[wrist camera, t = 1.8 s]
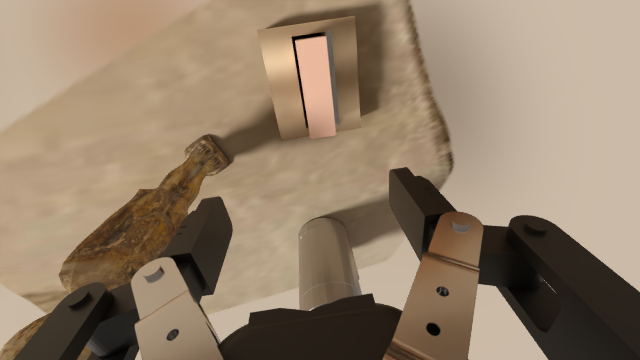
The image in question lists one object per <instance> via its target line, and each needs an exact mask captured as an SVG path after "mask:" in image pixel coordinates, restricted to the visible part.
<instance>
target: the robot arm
mask: <svg viewBox="0 0 640 360" xmlns="http://www.w3.org/2000/svg"><path fill="white" fill-rule="evenodd" d="M389 201H390V206H391V209H392V211H393V213H394V214H395V216H396V218H397V220H398V222H399V224H400V225H401V227H402V229H403V231H404V233H405V235H406V236H407V238H408V240H409V242H410V244H411V246H412V247H413V249H414V251H415V253H416V255H417V257H418V258H419V260H420V265H419V268H418V271H417V273H416V276H415V279H414V282H413V284H412V287H411V290H410V293H409V295H408V298H407V301H406V304H405V307H404V309H403V311H401V310H399V309H397V308H395V307H392V306H389V305H384V304H379V303H375V301H374V298H373V294H366V295H362V293H361V289H360V285H359V275H358V271H357V267H356V263H355V259H354V256H353V252H352V248H351V244H350V240H349V239H348V237H347V233H346V230H345V227H344V226H343V225H342V224H341V223H340V222H339V221H337V220H335V219H332V218H317V219H314V220H311V221H309V222H308V223H306V224H305V225H304V226H303V227H302V229H301V230H300V233H299V304H300V310H296V309H285V308H278V309H271V310H265V311H259V312H253V313H250V317H249V323H248V324H247V325H245V326H243V327H241V328H239V329H237V330H236V331H234V332H233V333H232V334H230V335H229V336H228V337H227V338H225V339H224V340H223V341H222V342H221V341H220V339H219V338H218V336H217V334H216V332H215V330H214V328H213V326H212V325H211V323H210V321H209V319H208V317H207V315H206V313H205V311H204V310H203V308H202V306H201V304H200V300H201V297H202V296H205V295H212V294H214V291H215V287H216V284H217V281H218V278H219V275H220V272H221V268H222V265H223V262H224V259H225V256H226V253H227V249H228V246H229V243H230V240H231V237H232V232H233V228H232V223H231V220H230V217H229V215H228V212H227V210H226V207H225V205H224V202H223V200H222V198H221V197H219V196H218V197H212V198H206V199H202V200H201V202H200V204H199V205H198V207H197V209H196V211H192V212H191V213H190V214H189V215H188V216H187V217H185V218H184V220H183V221H182V223H181V225H180V226H179V229H177V231H176V233H175V236H173V238H172V239H171V241H170V243H169V244H168V246H167V248H166V249H165V251H164V253H163V254H162V256H161V258H159V259H155V260H153V261H151V262H149V263H147V264H146V265H144V266H143V267H142V268H140V269H139V270H138V271H137V272H136V274H135V275H134V276H133V278H132V280H131V282H129V283H127V284H124V285H121V286H119V287H116V288H114V289H111V290H108V288H107V287H106V286H105V285H104V284H103V283H100V282H95V283H90V284H87V285H85V286H82V287H80V288H78V289H77V290H75V291H73V292H72V293H71V294H69V295H68V296H67V297H65V298H64V299H63V300H62V301H61V302H60V303H59V304H58V305H57V307H56V308H55V309H54V310H53V312H52V313H51V314H50V315H49V316H48V318H47V319H46V320H45V321H44V322H43V324H42V325H41V326H40V327H39V329H38V330H37V331H36V332H35V333H34V335H33V336H32V337H31V338H30V340H29V341H28V342H27V343H26V344H25V346H24V347H23V348H22V349H21V351H20V352H19V353H18V354H17V355H16V357H15V358H14V359H13V360H77V359H78V357H79V355H80V354H81V352H82V351H83V349H84V347H85V346H87V347H88V348H89V349H90V350H91V351H92V352H91V354H90V356H89V357H88V359H87V360H135V358H136V355H137V353H138V351H139V349H140V352H141V357H142V360H468V353H469V345H470V337H471V330H472V322H473V315H474V307H475V300H476V293H477V285H478V284H484V285H492V286H496V287H497V288H498V289H499V291H500V292H501V294H502V295H503V297H504V298H505V299H506V301H507V302H508V304H509V305H510V306H511V308H512V309H513V311H514V312H515V313H516V315H517V316H518V318H519V319H520V320H521V322H522V323H523V325H524V326H525V327H526V329H527V330H528V332H529V333H530V334H531V336H532V337H533V338H534V340H535V341H536V342H537V344H538V346H539V347H540V348H541V350H542V351H543V353H544V354H545V355H546V357H547V358H548V360H640V292H639V291H638V290H636V289H635V288H634V287H633V286H631V285H630V284H629V283H628V282H626V281H625V280H624V279H623V278H621V277H620V276H619V275H618V274H616V273H615V272H614V271H613V270H611V269H610V268H609V267H608V266H606V265H605V264H604V263H603V262H601V261H600V260H599V259H598V258H596V257H595V256H594V255H593V254H591V253H590V252H589V251H588V250H586V249H585V248H584V247H583V246H581V245H580V244H579V243H578V242H576V241H575V240H574V239H573V238H571V237H570V236H569V235H568V234H566V233H565V232H564V231H563V230H562V229H560V228H559V227H558V226H556V225H555V224H553V223H552V222H549V221H548V220H545V219H543V218H539V217H535V216H528V215H521V216H516V217H514V218H512V219H511V220H510V223H509V226H508V227H502V226H488V225H483V224H482V223H481V222H480V221H479V220H478V219H477V218H476V217H474V216H472V215H470V214H467V213H463V212H457V211H456V209H455V208H454V207H453V206H452V205H451V204H450V203H449V202H448V201H447V200H446V198H445V197H444V196H443V195H442V194H440V192H439V191H438V190H437V189H435V186H434V185H433V184H432V183H431V182H430V181H429V180H427V179H425V178H423V177H421V176H414V175H413V174H412V172H411V171H410V170H409V169H408V168H407V167H404V168H398V169H392V170H390V172H389ZM544 280H545V281H546V282H547V283H548V284H549V285H550V286H551V287H550V286H549V285H548V284H547V283H546V282H545V281H544ZM552 289H553V290H554V291H555V292H556V293H557V294H556V293H555V292H554V291H553V290H552Z"/></svg>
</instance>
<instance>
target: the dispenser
mask: <svg viewBox="0 0 640 360" xmlns="http://www.w3.org/2000/svg"><path fill="white" fill-rule="evenodd" d="M257 31H258V36H259V40H260V45H261V49H262V54H263V59H264V63H265V68H266V72H267V77H268V82H269V86H270V91H271V95H272V100H273V105H274V109H275V114H276V118H277V123H278V128H279V132H280V137H281V140H284V139H290V138H297V137H303V136H310V133H309V127H308V120H307V119H306V120H305V116H304V109H303V103H302V97H301V91H300V85H299V78H298V72H297V66H296V60H295V53H294V47H293V41H292V36H299V35H306V34H313V33H319V32H321V33H322V36H326V40H327V50H328V60H329V70H330V79H331V89H332V99H333V109H334V119H335V129H336V131H343V130H350V129H356V128H361V122H360V102H359V82H358V62H357V42H356V22H355V16H349V17H342V18H336V19H329V20H322V21H315V22H309V23H302V24H295V25H289V26H282V27H275V28H268V29H262V30H257Z"/></svg>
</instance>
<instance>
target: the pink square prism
mask: <svg viewBox="0 0 640 360" xmlns="http://www.w3.org/2000/svg"><path fill="white" fill-rule="evenodd" d="M295 44H296V50H297V56H298V63H299V69H300V76H301V82H302V88H303V95H304V101H305V108H306V114H307V120H308V127H309V133H310V139H315V138H321V137H328V136H335V135H336V129H335V119H334V109H333V99H332V89H331V79H330V70H329V60H328V50H327V40H326V36H317V37H310V38H304V39H297V40H295Z"/></svg>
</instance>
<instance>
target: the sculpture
mask: <svg viewBox="0 0 640 360" xmlns="http://www.w3.org/2000/svg"><path fill="white" fill-rule="evenodd" d="M184 152H185V154H186V156H185V158H186V159H187V160H186V161H185V162H184V163H183V164H182V165H180V166H179V167H177V168H176V169H174V170H172V171H171V172H170V173H169V174H168V175H167V176H166V177H165V178H164V179H163V181H162V182H161V184H160V185H159V187H158V188H156V189H139V190H138V192H137V194H136V195H135V196H134V197H133V198H132V200H130V201H129V202H128V203H127V204H126V205H124V206H123V207H122V208H120V209H119V210H118V211H116V212H115V213H114V214H113V215H111V216H110V217H109V218H108V219H107V220H106V221H105V222H104V223H103V224H102V225H101V226H100V227H98V228H97V229H96V230H95V231H94V232H93V233H91V234H90V235H89V236H88V237H87V238H85V239H84V240H83V241H82V242H81V243H80V244H79V245H78V246H77V247H76V249H75V250H74V251H73V252H72V253H71V254H70V255H69V257H68V258H67V259H66V260H65V261H64V263H63V265H62V267H61V269H60V271H59V277H60V280H61V283H62V285H63V287H64V288H65V289H66V290H67V291H68V292H69V294H71V293H72V292H73V291H75V290H77V289H78V288H80V287H82V286H85V285H87V284H90V283H95V282H100V283H103V284H104V285H105V286H106V287H107V288H108V290H111V289H114V288H116V287H119V286H121V285H124V284H127V283H129V282H131V280H132V278H133V276H134V275H135V274H136V272H137V271H138V270H139V269H140V268H142V267H143V266H144V265H146V264H147V263H149V262H151V261H153V260H155V259H159V258H161V256H162V254H163V253H164V251H165V249H166V248H167V246H168V244H169V243H170V241H171V239H172V238H173V236H175V233H176V231H177V229H179V226H180V225H181V223H182V221H183V220H184V218H185V217H187V216H188V211H187V210H188V208H189V206H190V205H191V204H192V202H193V201H194V200H195V198H196V197H197V195H198V193H199V190H200V186H201V183H202V181H203V179H204V177H205V176H213V175H215V174H217V173H219V172H220V171H222V170H223V169H225V168H226V167H227V166H229V164H228V161H227V158H226V157H225V156H224V155H223V154H222V152H221V151H220V149H219V148H218V147H217V145H216V144H215V143H214V142H213V141H212V139H211V138H210V137H209V136H208V135H206V136H202V137H201V138H199V139H198V140H197V141H195V142H194V143H192V144H191V145H190V146H189V147H187V148H186V150H185V151H184ZM50 314H51V313H50ZM50 314H47V315H45V316H43V317H41V318H39V319H37V320H35V321H34V322H32V323H31V324H29V325H28V326H26V327H25V328H23V329H22V330H20V331H19V332H17V333H16V334H15V335H14V337H12V338H11V339H10V340H9V341H8V342H7V343H6V344H5V345H4V346H3V348H2V350H1V352H0V360H13V359H14V358H15V357H16V355H17V354H18V353H19V352H20V351H21V349H22V348H23V347H24V346H25V344H26V343H27V342H28V341H29V340H30V338H31V337H32V336H33V335H34V333H35V332H36V331H37V330H38V329H39V327H40V326H41V325H42V324H43V322H44V321H45V320H46V319H47V318H48V316H49V315H50ZM91 352H92V351H91V350H90V349H89V348H88V347H87V346H85V347H84V349H83V351H82V352H81V354H80V355H79V357H78V359H77V360H87V359H88V357H89V356H90V354H91Z"/></svg>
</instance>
